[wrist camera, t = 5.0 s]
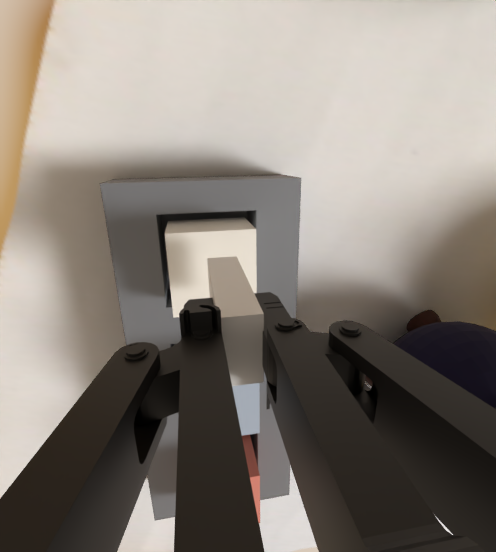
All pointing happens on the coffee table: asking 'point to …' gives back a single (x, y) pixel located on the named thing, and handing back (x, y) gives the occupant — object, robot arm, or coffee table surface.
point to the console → (157, 295)
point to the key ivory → (206, 254)
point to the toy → (454, 352)
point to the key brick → (252, 471)
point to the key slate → (248, 407)
